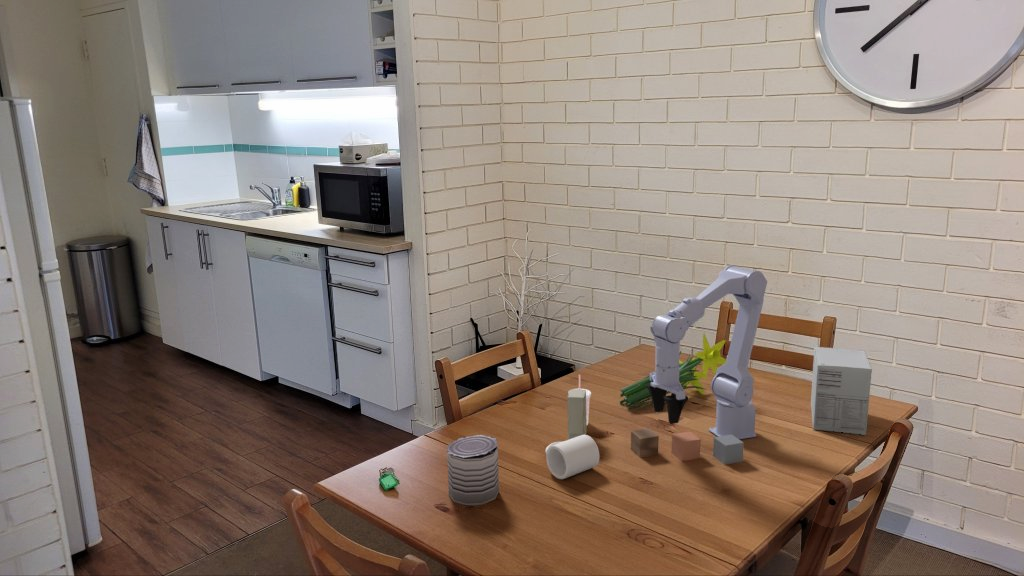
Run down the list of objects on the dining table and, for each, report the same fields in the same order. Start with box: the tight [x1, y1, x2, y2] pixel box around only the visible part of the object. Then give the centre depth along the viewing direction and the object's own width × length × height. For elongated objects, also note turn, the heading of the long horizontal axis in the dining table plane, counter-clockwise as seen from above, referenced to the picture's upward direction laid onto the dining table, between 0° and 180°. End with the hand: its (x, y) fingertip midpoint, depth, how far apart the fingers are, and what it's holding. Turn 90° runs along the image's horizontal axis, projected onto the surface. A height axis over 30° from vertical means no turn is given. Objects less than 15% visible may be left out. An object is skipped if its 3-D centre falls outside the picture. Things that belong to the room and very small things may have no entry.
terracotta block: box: [671, 431, 701, 462], centre depth 185 cm, size 5×5×5 cm
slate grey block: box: [712, 434, 745, 465], centre depth 182 cm, size 5×5×5 cm
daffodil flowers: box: [619, 332, 727, 412], centre depth 220 cm, size 17×15×35 cm
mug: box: [544, 434, 600, 480], centre depth 179 cm, size 12×10×8 cm
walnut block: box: [630, 427, 660, 458], centre depth 187 cm, size 5×5×5 cm
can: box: [446, 434, 500, 506], centre depth 168 cm, size 11×11×12 cm
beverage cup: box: [567, 374, 592, 426], centre depth 204 cm, size 6×6×14 cm
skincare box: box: [566, 388, 588, 440], centre depth 196 cm, size 6×4×12 cm
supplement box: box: [810, 346, 873, 436], centre depth 202 cm, size 17×13×18 cm
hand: (666, 417), depth 184 cm, fingers open, 7 cm apart
